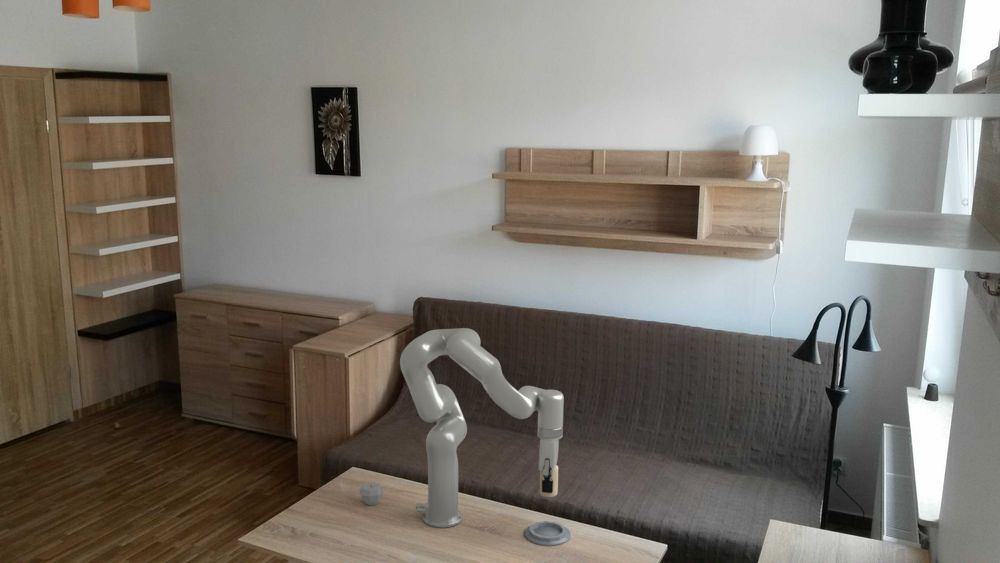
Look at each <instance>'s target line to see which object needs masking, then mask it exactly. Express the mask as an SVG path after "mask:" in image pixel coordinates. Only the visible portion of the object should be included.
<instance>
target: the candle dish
mask: <svg viewBox="0 0 1000 563" xmlns="http://www.w3.org/2000/svg"><path fill="white" fill-rule="evenodd" d="M524 536H525V538H526V539H527V540H528V541H529V542H531V543H532V544H535V545H539V546H545V547H555V546H560V545H563V544H565V543H567V542H569V541H570V540H571V530H569V528H567V527H566V526H564V525H563V524H561V523H559V522H556V521H552V520H541V521H536V522H534V523H533V524H530V525H529V526H527V527H526V528H525V531H524Z"/></svg>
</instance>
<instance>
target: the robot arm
mask: <svg viewBox="0 0 1000 563" xmlns="http://www.w3.org/2000/svg"><path fill="white" fill-rule="evenodd" d="M439 356H440V357H441V356H449V358H450V359H451V360H453V361H454V362H455V363H456V364H458V365H459V366H460V367H461V368H463V369H464V370H465V371H466V372H468V373H469V374H470V375H471V376H472V377H474V378H475V379H476V380H478V382H480V383H481V385H482V387H483V389H484V390H485V391H486V393H487V394H488V396H489V398H491V400H492V401H494V403H495V404H496V405H497V406H498V407H500V408H501V409H502V410H504V411H505V412H506V413H507V414H509V415H510V416H511V417H513V418H516V419H519V420H524V419H528V418H529V417H531V416H532V414H533V413H534V412H535V411H537V437H538V438H539V439H540V440H539V452H538V465H537V466H538V467H537V470H538V471H539V472H540V470H542V469H543V479H542V492H545V493H552V492H553V480H552V472H553V471H554V470H555V467H556V465H557V463H558V459H559V447H560V446H559V444H560V441H559V440H561V439H562V438H563V436H564V435H563V432H564V403H565V402H564V399H565V398H564V394H563V393H562V391H559V390H557V389H543V388H540V387H536V386H533V385H524V386H522V387H520V388H519V389H518V390H517V388H515V387H514V386H512V384H511V383H510V382H508V380H507V379H506V378H505V376H504V374H503V372H502V365H501V364H500V361H499V360H498V358H496V357H495V356H493V355H492V353H490V352H488V351H487V350H486V349H485V348H484V347H483V346H481V338H480V336H479V334H478V332H476V331H475V330H473V329H471V328H467V327H461V328H460V327H459V328H442V329H440V328H439V329H433V330H429V331H426V332H425V333H423V334H421V335H419V336H417V337H416V338H414V339H413V340H412V341H411V342H409V343H408V344H407V345H406V346H405V348H404V349H403V350H402V352H401V355H400V359H399V366H400V371H401V373H402V375H403V377H404V381H406V382H405V383H406V384H407V386H408V389H409V393H410V394H411V397H412V401H413V403H414V406H415V408H416V410H417V413H418V415H419V417H420V419H422V420H423V421H424V422H426V423H434V422H436V424H435V425H434V426H433V427H432V428H431V429H430V430H429V432H428V434H427V435H426V439H425V447H426V448H425V449H426V454H427V497H428V499H427V502H425V503H421V502H416V503H415V506H414V508H415V510H416V512H417V513H423V516H422V520H423V522H424V523H425V524H426V525H427V526H430V527H434V528H442V529H444V528H452V527H455V526H457V525H460V524H461V522H462V521H463V519H464V518H463V517H464V515H463V513H462V512H461V510H459V459H458V455H457V449H458V446H460V444H461V443H462V442H463V441H464V439H465V438H466V436H467V433H468V427H467V426H468V425H467V423H466V419H465V416H464V415H463V412H462V409H461V407H460V405H459V404H460V403H459V401H458V399H457V397H456V395H455V393H454V391H453V390H452V388H450V387H449V386H448V385H445V384H443V383H441V384H439V383H437V382H436V379H435V376H434V375H433V373H432V371H431V369H429V368H428V364H429V363H431V362H432V361H434V360H436V359H437V358H438V357H439ZM549 468H551V470H549ZM549 472H550V474H549Z"/></svg>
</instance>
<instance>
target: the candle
mask: <svg viewBox="0 0 1000 563" xmlns="http://www.w3.org/2000/svg"><path fill="white" fill-rule="evenodd" d="M549 470H551V468H549ZM549 474H550V472H549ZM542 479H543V469H542V470H540V471H539V495H540V496H542V497H545V498H553V497H557V495H558V489H559V488H558V486H559V465H557V464H556V467H555V470H554V471H553V472H552V480H553V492H552V493H545V492H542Z"/></svg>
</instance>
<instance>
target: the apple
mask: <svg viewBox="0 0 1000 563" xmlns="http://www.w3.org/2000/svg"><path fill="white" fill-rule="evenodd" d="M359 493H360V497H361V499H362V501H363V503H364V504H365V505H367V506H374V505H377V504H378V503H380V501H381V499H382V497H383V494H384V489H383V487H382V485H381V483H379V482H375V481H374V482H372V481H371V482H365V483H364V484H362V485H361V486H360V488H359Z"/></svg>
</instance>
